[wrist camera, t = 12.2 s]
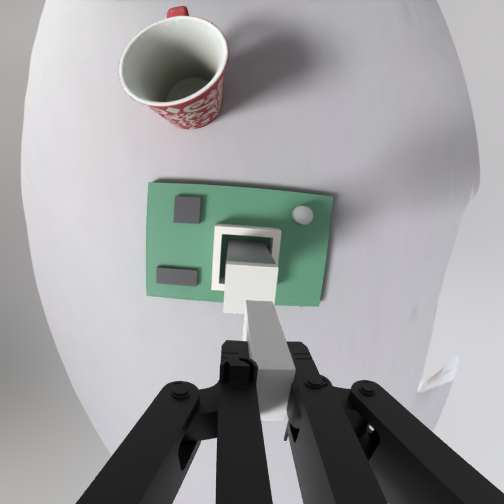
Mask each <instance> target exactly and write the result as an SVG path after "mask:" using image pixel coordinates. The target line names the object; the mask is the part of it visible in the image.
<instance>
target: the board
mask: <svg viewBox="0 0 504 504" xmlns="http://www.w3.org/2000/svg"><path fill="white" fill-rule="evenodd" d="M332 205H333V196H325V195H317V194H308V193H300V192H290V191H281V190H270V189H259V188H247V187H234V186H220V185H203V184H182V183H151V182H149V184H148V201H147V225H146V288H147V296H154V297H164V298H175V299H186V300H199V301H212V302H224V288H225V272H226V259H227V250H228V240H229V239H241V240H255V241H263V242H264V244H265V245H266V247H267V249H268V251H269V252H270V254H271V256H272V257H273V259H274V261H275V262H276V264H277V266H278V277H277V286H276V294H275V303H274V305H286V306H319V303H320V297H321V290H322V284H323V277H324V271H325V264H326V256H327V249H328V241H329V233H330V224H331V215H332Z"/></svg>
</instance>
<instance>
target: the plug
mask: <svg viewBox="0 0 504 504" xmlns="http://www.w3.org/2000/svg"><path fill="white" fill-rule="evenodd" d="M277 277H278V266H277V264H276V262H275V261H274V259H273V257H272V256H271V254H270V252H269V251H268V249H267V247H266V245H265V244H264V242H263V241H255V240H241V239H229V240H228V250H227V259H226V272H225V288H224V307H223V313H236V314H245V303H246V300H254V301H272V302H273V305H274V303H275V294H276V286H277Z"/></svg>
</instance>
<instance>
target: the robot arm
mask: <svg viewBox="0 0 504 504" xmlns="http://www.w3.org/2000/svg"><path fill="white" fill-rule="evenodd" d="M286 413H287V415H288V419H289V420H288V424H287V428H286V432H285V436H284V441H287V437H289V441H290V446H291V450H292V455H293V459H294V463H295V468H296V472H297V477H298V481H299V486H300V490H301V494H302V499H303V503H304V504H504V493H503V492H501V491H500V490H499V489H498V488H496V487H495V486H494V485H493V484H492V483H491V482H490V481H488V480H487V479H486V478H485V477H484V476H482V475H481V474H480V473H479V472H478V471H477V470H475V469H474V468H473V467H472V466H471V465H470V464H468V463H467V462H466V461H465V460H464V459H463V458H461V457H460V456H459V455H458V454H457V453H456V452H454V451H453V450H452V449H451V448H450V447H449V446H448V445H447V444H445V443H444V442H443V441H442V440H441V439H440V438H439V437H437V436H436V435H435V434H434V433H433V432H432V431H431V430H429V429H428V428H427V427H426V426H425V425H424V424H423V423H421V422H420V421H419V420H418V419H417V418H416V417H415V416H414V415H412V414H411V413H410V412H409V411H408V410H407V409H406V408H405V407H403V406H402V405H401V404H400V403H399V402H398V401H397V400H396V399H394V398H393V397H392V396H391V395H390V394H389V393H388V392H387V391H386V390H384V389H383V388H382V387H381V386H380V385H378V384H377V383H375V382H372V381H368V380H361V381H357V382H355V383H354V384H353V385H352V387H351V389H345V388H338V387H334V386H332V384H331V382H330V381H329V379H328V378H326V377H324V376H322V375H320V374H319V372H318V370H317V368H316V365H315V363H314V361H313V359H312V357H311V354H310V352H309V350H308V348H307V347H306V346H305V345H304V344H303V343H302V342H286V339H285V337H284V334H283V331H282V328H281V325H280V322H279V319H278V316H277V313H276V310H275V307H274V305H273V302H272V301H254V300H246V303H245V315H244V327H243V340H242V341H232V340H226V341H225V343H224V344H223V345H222V350H221V364H220V379H219V381H218V383H217V384H215V385H214V386H212V387H210V388H206V389H200V390H198V388H197V387H196V386H195V385H194V384H191V383H189V382H184V381H175V382H171V383H168V384H167V385H165V386H164V387H163V388H162V390H161V391H160V392H159V394H158V395H157V396H156V398H155V399H154V400H153V402H152V403H151V405H150V406H149V407H148V409H147V410H146V411H145V413H144V414H143V415H142V417H141V418H140V419H139V421H138V422H137V423H136V425H135V426H134V427H133V429H132V430H131V431H130V433H129V434H128V435H127V437H126V438H125V439H124V441H123V442H122V443H121V445H120V446H119V447H118V449H117V450H116V451H115V453H114V454H113V455H112V457H111V458H110V459H109V461H108V462H107V463H106V465H105V466H104V467H103V469H102V470H101V471H100V472H99V474H98V475H97V476H96V478H95V479H94V480H93V482H92V483H91V484H90V486H89V487H88V488H87V490H86V491H85V492H84V494H83V495H82V496H81V497H80V499H79V500H78V501H77V503H76V504H172V503H173V501H174V499H175V497H176V495H177V493H178V491H179V488H180V486H181V484H182V482H183V480H184V478H185V476H186V474H187V471H188V469H189V467H190V465H191V463H192V461H193V459H194V456H195V454H196V452H197V450H198V448H199V445H200V443H201V440H207V439H212V438H217V462H216V504H273V502H272V495H271V488H270V481H269V475H268V468H267V460H266V453H265V446H264V439H263V432H262V424H261V421H282V420H285V417H286ZM370 425H371V426H372V427H373V428H374V431H372V430H371V429H370V428H369V426H370Z"/></svg>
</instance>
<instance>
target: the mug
mask: <svg viewBox="0 0 504 504" xmlns="http://www.w3.org/2000/svg"><path fill="white" fill-rule="evenodd" d="M228 56H229V49H228V44H227V40H226V38H225V36H224V34H223V33H222V32H221V30H220V29H219V28H218V27H217V26H216V25H214V24H213V23H211V22H209V21H207V20H205V19H202V18H198V17H193V16H189V14H188V10H187V7H185V6H180V7H175V8H171V9H169V10H168V13H167V18H166V19H163V20H160V21H157V22H155V23H153V24H151V25H149V26H148V27H146V28H144V29H143V30H141V31H140V32H139V33H138V34H137V35H136V36H135V37H134V38H133V39H132V40H131V41H130V42H129V44H128V45H127V47H126V48H125V50H124V52H123V54H122V57H121V60H120V64H119V77H120V82H121V84H122V87H123V88H124V90H125V92H126V93H127V94H128V95H129V96H130V97H131V98H133V99H134V100H136V101H138V102H140V103H142V104H145V105H147V106H148V107H150V108H151V109H152V110H154V111H155V112H157V113H158V114H159V115H161V116H162V117H164V118H165V119H167V120H168V121H169V122H171V123H172V124H174V125H175V126H177V127H180V128H183V129H197V128H201V127H203V126H205V125H207V124H209V123H210V122H211V121H212V120H213V119H214V118H215V117H216V116H217V114H218V113H219V111H220V108H221V105H222V92H223V80H224V71H225V68H226V65H227V62H228Z"/></svg>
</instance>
